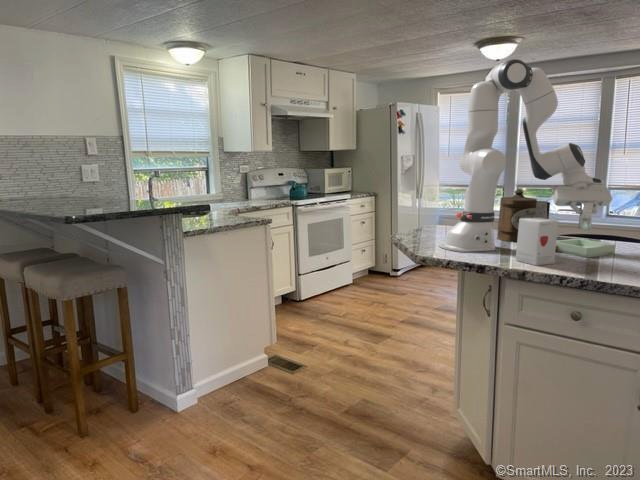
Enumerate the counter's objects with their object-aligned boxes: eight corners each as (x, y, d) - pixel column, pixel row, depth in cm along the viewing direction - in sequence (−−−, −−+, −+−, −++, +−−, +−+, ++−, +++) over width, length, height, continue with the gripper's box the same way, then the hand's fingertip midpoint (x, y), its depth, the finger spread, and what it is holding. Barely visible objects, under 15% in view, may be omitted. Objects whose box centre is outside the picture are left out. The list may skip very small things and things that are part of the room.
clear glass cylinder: (586, 229, 175) (588, 203, 173) (575, 228, 178) (578, 202, 177) (593, 229, 176) (596, 202, 175) (583, 227, 180) (585, 201, 178)
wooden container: (518, 243, 196) (522, 191, 192) (490, 238, 209) (493, 188, 205) (541, 240, 203) (545, 190, 199) (512, 235, 216) (516, 188, 212)
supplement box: (535, 266, 156) (539, 221, 153) (514, 260, 164) (518, 218, 161) (555, 263, 159) (559, 220, 157) (533, 258, 167) (537, 216, 165)
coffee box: (547, 238, 209) (550, 202, 207) (532, 237, 211) (535, 201, 208) (542, 235, 218) (545, 200, 215) (527, 234, 220) (530, 200, 217)
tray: (586, 257, 169) (587, 248, 168) (550, 250, 182) (550, 241, 182) (614, 254, 176) (615, 244, 175) (577, 247, 189) (578, 238, 188)
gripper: (552, 179, 182) (561, 207, 174) (607, 179, 180) (618, 207, 172) (547, 190, 187) (555, 218, 179) (600, 190, 185) (611, 218, 177)
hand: (586, 213), depth 176 cm, fingers closed on clear glass cylinder, 4 cm apart
